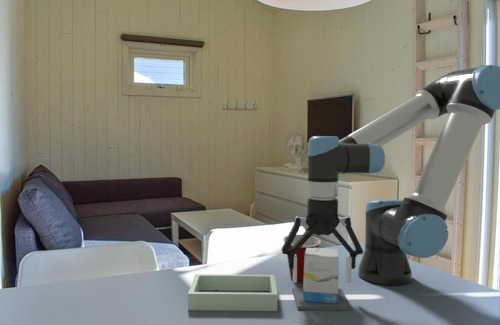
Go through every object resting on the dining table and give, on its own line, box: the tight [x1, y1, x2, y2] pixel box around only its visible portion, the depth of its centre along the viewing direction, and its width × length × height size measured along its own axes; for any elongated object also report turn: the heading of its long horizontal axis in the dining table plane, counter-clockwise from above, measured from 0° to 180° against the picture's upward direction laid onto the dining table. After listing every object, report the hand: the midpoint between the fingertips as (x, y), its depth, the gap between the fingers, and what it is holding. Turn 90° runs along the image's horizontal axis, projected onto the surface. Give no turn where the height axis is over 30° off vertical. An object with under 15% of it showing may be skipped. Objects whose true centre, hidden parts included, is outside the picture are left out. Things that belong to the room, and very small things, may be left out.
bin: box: [187, 273, 279, 312], centre depth 114 cm, size 21×15×4 cm
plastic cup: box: [283, 234, 322, 283], centre depth 130 cm, size 11×11×12 cm
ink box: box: [302, 247, 340, 304], centre depth 113 cm, size 8×8×12 cm
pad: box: [291, 287, 353, 311], centre depth 114 cm, size 13×13×1 cm
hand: (321, 281), depth 114 cm, fingers open, 13 cm apart
